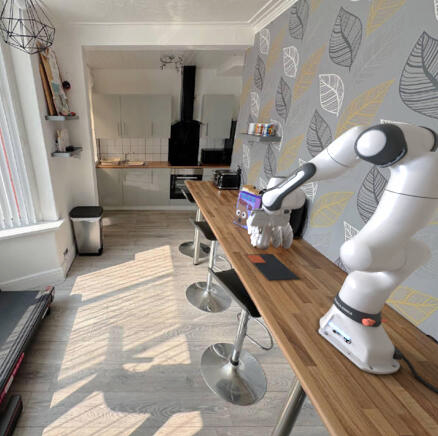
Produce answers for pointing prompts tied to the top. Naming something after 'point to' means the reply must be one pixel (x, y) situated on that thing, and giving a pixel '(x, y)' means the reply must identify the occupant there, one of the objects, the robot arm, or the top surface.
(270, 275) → the mat
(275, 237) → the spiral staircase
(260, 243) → the plastic bottle
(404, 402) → the top surface
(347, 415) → the top surface
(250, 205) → the cereal box
